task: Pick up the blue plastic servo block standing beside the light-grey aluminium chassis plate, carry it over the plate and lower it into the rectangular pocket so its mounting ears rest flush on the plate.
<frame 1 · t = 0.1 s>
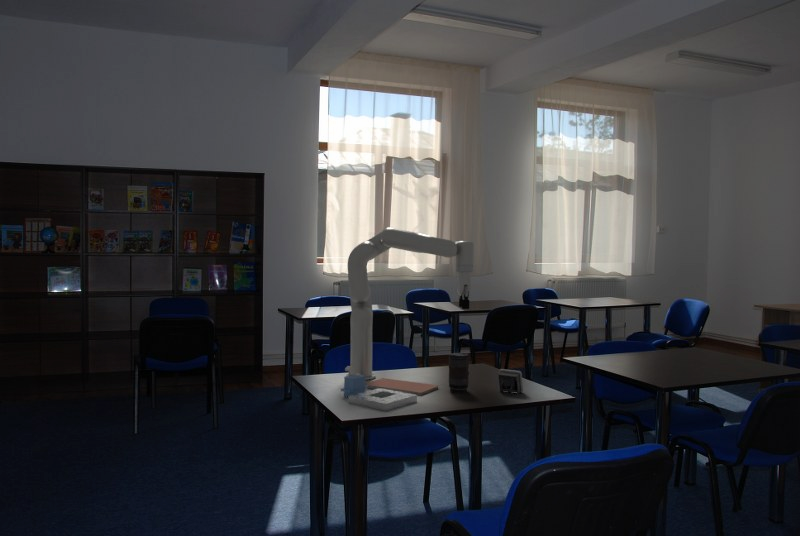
hand: (464, 307, 282), 31 cm above the table, tool pointing down, fingers open, 9 cm apart
camera lens: (458, 391, 257), on the table
notebook: (400, 389, 262), on the table
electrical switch: (510, 393, 256), on the table
servo: (354, 395, 247), on the table
chassis plate: (382, 402, 237), on the table
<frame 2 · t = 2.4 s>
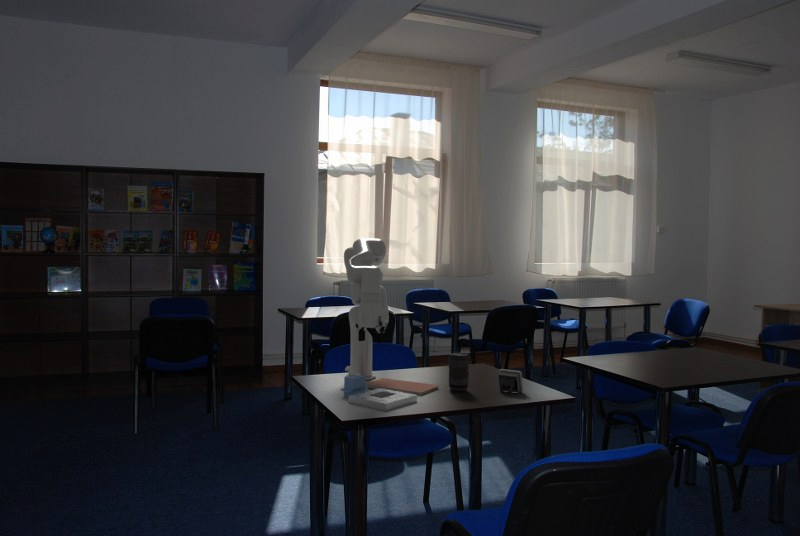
hand: (370, 342, 251), 20 cm above the table, tool pointing down, fingers open, 9 cm apart
nothing on the table moved.
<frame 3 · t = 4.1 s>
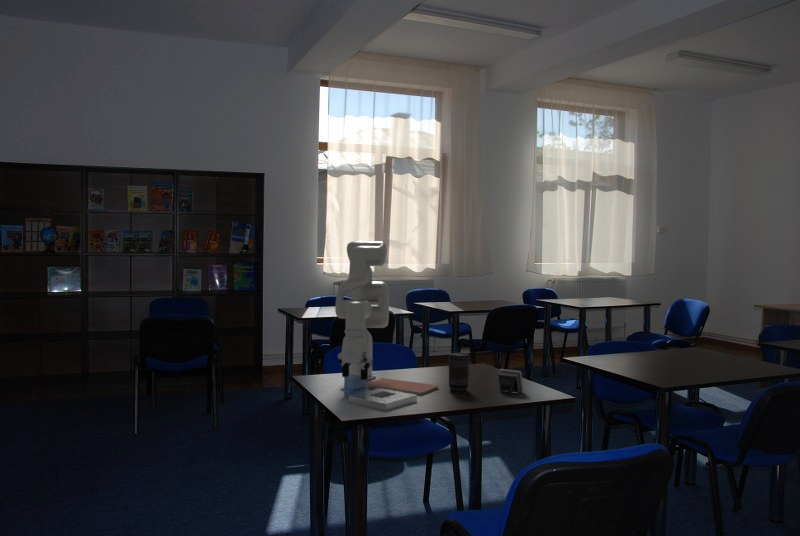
hand: (354, 377, 247), 7 cm above the table, tool pointing down, fingers open, 9 cm apart
nothing on the table moved.
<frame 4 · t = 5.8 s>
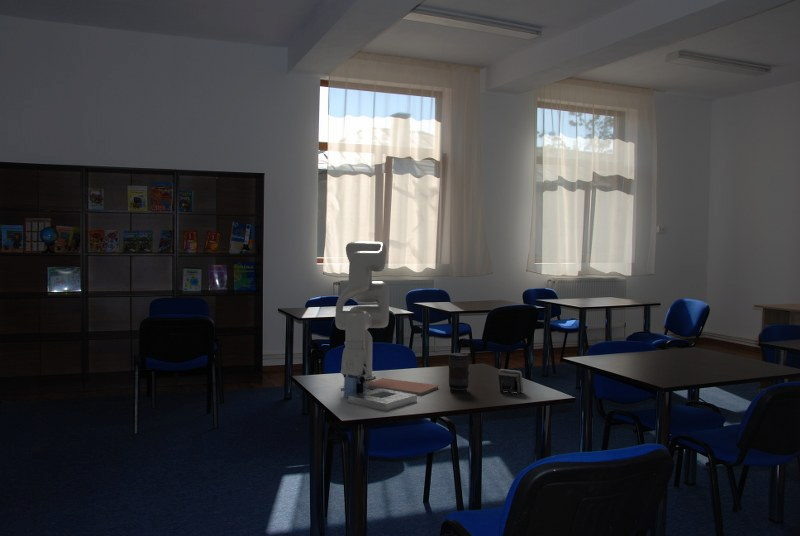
hand: (354, 391, 247), 1 cm above the table, tool pointing down, fingers closed on servo, 4 cm apart
servo: (354, 395, 247), on the table, touching gripper
everything else where it was.
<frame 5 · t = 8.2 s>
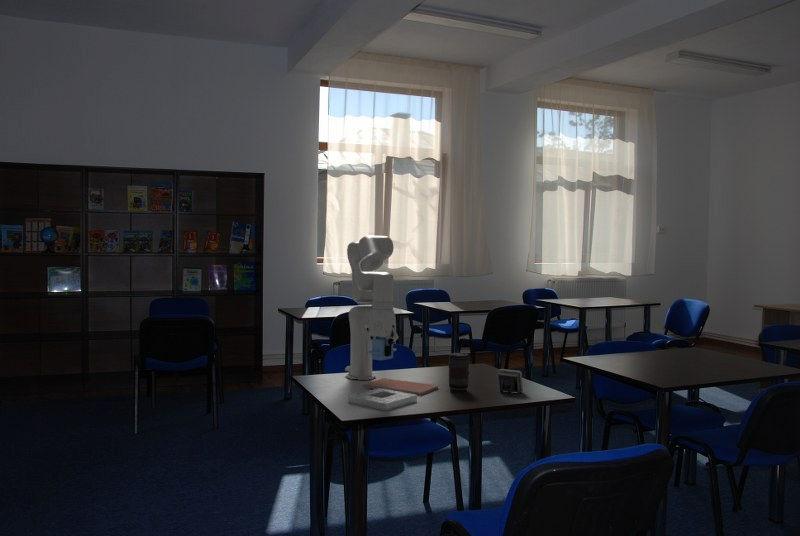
hand: (382, 354, 238), 17 cm above the table, tool pointing down, fingers closed on servo, 4 cm apart
servo: (382, 358, 238), point 16 cm above the table, touching gripper
everything else where it was.
when the fingers open (3 cm above the table, at t = 10.6 s): servo drops 2 cm, resting on chassis plate.
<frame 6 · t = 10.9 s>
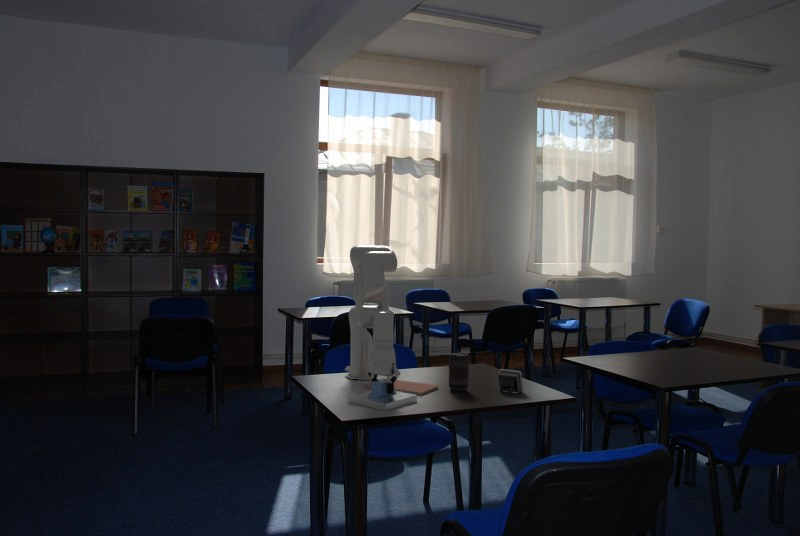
hand: (382, 391, 239), 4 cm above the table, tool pointing down, fingers open, 7 cm apart
servo: (382, 401, 239), resting on chassis plate
everything else where it was.
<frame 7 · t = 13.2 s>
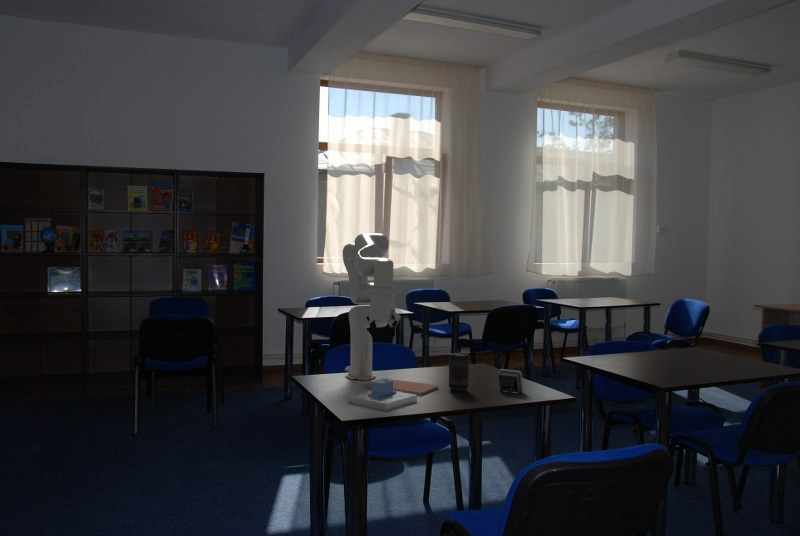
hand: (382, 335, 248), 23 cm above the table, tool pointing down, fingers open, 9 cm apart
nothing on the table moved.
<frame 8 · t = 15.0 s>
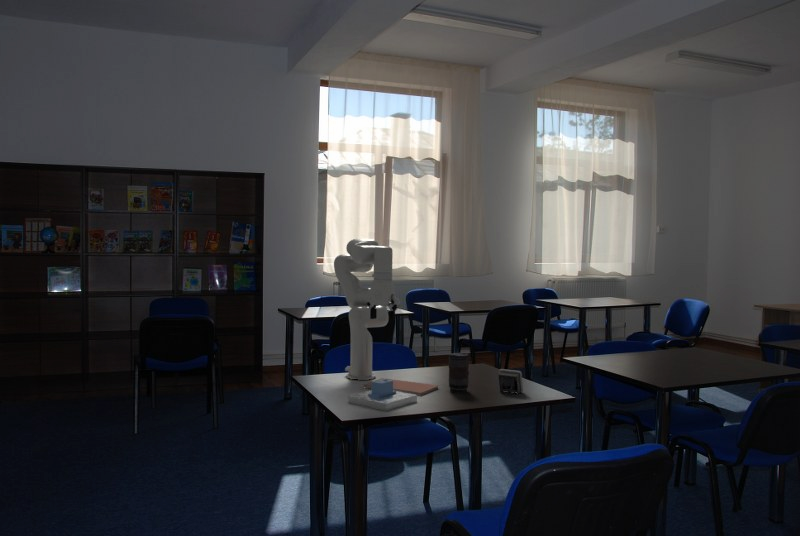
hand: (382, 319, 258), 28 cm above the table, tool pointing down, fingers open, 9 cm apart
nothing on the table moved.
at the end: servo 0.1 cm from the target spot on the chassis plate, point 0.0 cm above the chassis plate's base; servo tilted 0°; the gripper is holding nothing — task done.
